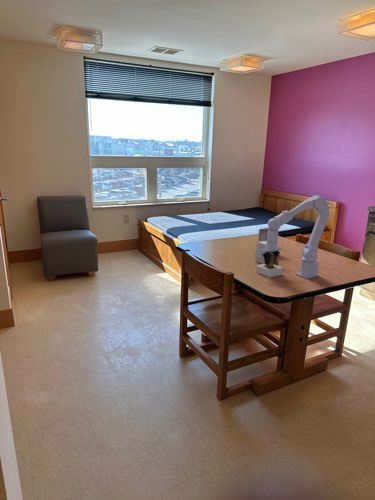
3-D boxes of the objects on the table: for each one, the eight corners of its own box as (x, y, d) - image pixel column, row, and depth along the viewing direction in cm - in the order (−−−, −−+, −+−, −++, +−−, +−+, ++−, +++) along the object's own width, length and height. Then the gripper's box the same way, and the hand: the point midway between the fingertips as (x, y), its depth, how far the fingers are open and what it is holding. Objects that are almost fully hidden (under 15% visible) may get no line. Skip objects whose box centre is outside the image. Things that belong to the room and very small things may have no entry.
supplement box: (263, 264, 208) (265, 244, 205) (254, 261, 214) (256, 241, 210) (271, 263, 212) (274, 243, 209) (263, 259, 218) (265, 240, 214)
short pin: (274, 265, 207) (274, 259, 206) (279, 267, 204) (280, 261, 203) (269, 266, 205) (270, 260, 204) (274, 268, 202) (275, 262, 201)
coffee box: (265, 250, 239) (267, 227, 235) (272, 252, 235) (275, 229, 230) (256, 252, 234) (258, 229, 229) (264, 254, 229) (266, 230, 224)
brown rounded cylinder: (269, 266, 196) (271, 252, 193) (274, 268, 192) (276, 254, 190) (264, 267, 193) (265, 253, 191) (269, 269, 190) (271, 255, 188)
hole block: (268, 269, 201) (269, 262, 199) (281, 274, 193) (282, 267, 191) (256, 272, 195) (256, 265, 194) (269, 277, 187) (269, 270, 186)
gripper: (275, 237, 196) (273, 260, 199) (257, 240, 188) (255, 264, 192) (285, 240, 190) (282, 263, 194) (266, 243, 182) (264, 267, 186)
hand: (269, 264), depth 192 cm, fingers closed on brown rounded cylinder, 4 cm apart
